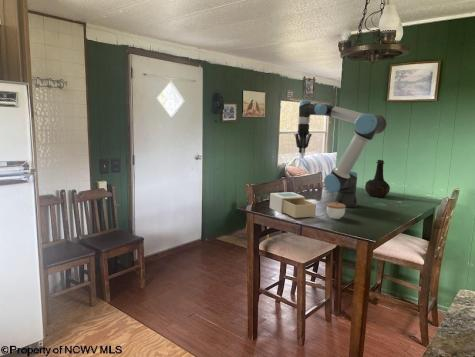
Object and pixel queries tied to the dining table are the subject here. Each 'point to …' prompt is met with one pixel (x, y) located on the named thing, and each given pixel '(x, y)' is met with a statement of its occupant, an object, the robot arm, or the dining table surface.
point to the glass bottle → (378, 183)
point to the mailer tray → (298, 208)
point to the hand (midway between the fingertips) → (301, 157)
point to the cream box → (281, 199)
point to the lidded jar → (335, 210)
